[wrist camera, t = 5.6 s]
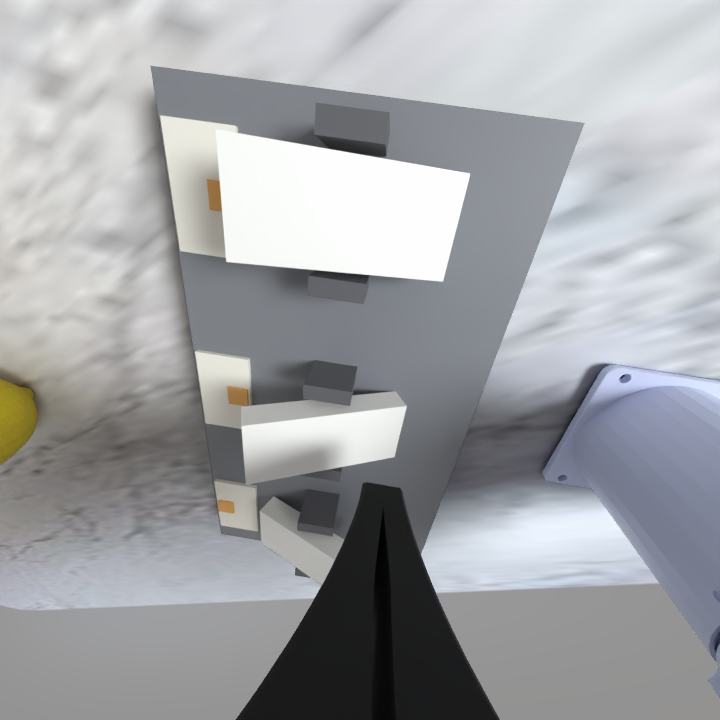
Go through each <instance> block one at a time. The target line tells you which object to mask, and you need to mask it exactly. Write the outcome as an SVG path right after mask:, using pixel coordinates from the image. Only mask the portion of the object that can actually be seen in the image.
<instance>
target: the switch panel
mask: <svg viewBox="0 0 720 720" xmlns="http://www.w3.org/2000/svg"><path fill="white" fill-rule="evenodd" d="M151 71H152V78H153V85H154V91H155V98H156V105H157V111H158V118H159V125H160V131H161V138H162V144H163V151H164V158H165V164H166V171H167V178H168V184H169V191H170V198H171V204H172V211H173V217H174V224H175V231H176V237H177V244H178V251H179V257H180V264H181V271H182V277H183V284H184V290H185V297H186V304H187V310H188V317H189V324H190V330H191V337H192V344H193V350H194V357H195V364H196V370H197V377H198V383H199V390H200V397H201V403H202V410H203V417H204V423H205V430H206V437H207V443H208V450H209V456H210V463H211V470H212V476H213V483H214V490H215V496H216V503H217V510H218V516H219V523H220V529H221V534H227V535H233V536H238V537H244V538H250V539H256V540H261V527H260V510H261V509H262V508H263V507H264V506H265V505H266V504H267V503H268V502H269V501H270V500H271V498H272V497H273V496H274V497H276V498H277V499H279V500H281V501H282V502H284V503H286V504H287V505H289V506H290V507H292V508H294V509H295V510H297V511H299V512H300V516H299V519H298V523H297V530H298V531H303V532H309V533H315V534H321V535H327V536H333V533H334V534H336V535H337V536H339V537H341V538H342V539H344V540H345V537H346V535H347V532H348V530H349V527H350V525H351V523H352V520H353V517H354V515H355V512H356V509H357V506H358V502H359V499H360V494H361V489H362V484H363V483H365V482H369V483H375V484H381V485H386V486H392V487H398V488H400V489H401V490H402V492H403V497H404V501H405V506H406V510H407V513H408V517H409V520H410V524H411V527H412V530H413V533H414V537H415V540H416V542H417V545H418V548H419V551H420V554H421V552H422V550H423V547H424V545H425V542H426V539H427V537H428V534H429V531H430V529H431V526H432V523H433V521H434V518H435V516H436V513H437V510H438V508H439V505H440V502H441V500H442V497H443V494H444V492H445V489H446V487H447V484H448V481H449V479H450V476H451V473H452V471H453V468H454V465H455V463H456V460H457V458H458V455H459V452H460V450H461V447H462V444H463V442H464V439H465V437H466V434H467V431H468V429H469V426H470V423H471V421H472V418H473V415H474V413H475V410H476V408H477V405H478V402H479V400H480V397H481V394H482V392H483V389H484V386H485V384H486V381H487V379H488V376H489V373H490V371H491V368H492V365H493V363H494V360H495V357H496V355H497V352H498V350H499V347H500V344H501V342H502V339H503V336H504V334H505V331H506V328H507V326H508V323H509V321H510V318H511V315H512V313H513V310H514V307H515V305H516V302H517V300H518V297H519V294H520V292H521V289H522V286H523V284H524V281H525V278H526V276H527V273H528V271H529V268H530V265H531V263H532V260H533V257H534V255H535V252H536V249H537V247H538V244H539V242H540V239H541V236H542V234H543V231H544V228H545V226H546V223H547V220H548V218H549V215H550V213H551V210H552V207H553V205H554V202H555V199H556V197H557V194H558V191H559V189H560V186H561V184H562V181H563V178H564V176H565V173H566V170H567V168H568V165H569V162H570V160H571V157H572V155H573V152H574V149H575V147H576V144H577V141H578V139H579V136H580V134H581V131H582V128H583V126H584V123H580V122H572V121H564V120H557V119H549V118H542V117H534V116H527V115H519V114H511V113H504V112H496V111H489V110H481V109H474V108H466V107H458V106H451V105H443V104H436V103H428V102H421V101H413V100H405V99H398V98H390V97H383V96H375V95H368V94H360V93H352V92H345V91H337V90H330V89H322V88H315V87H307V86H299V85H292V84H284V83H277V82H269V81H262V80H254V79H247V78H239V77H231V76H224V75H216V74H209V73H201V72H194V71H186V70H178V69H171V68H163V67H156V66H151ZM216 129H218V130H223V131H229V132H235V133H241V134H246V135H252V136H258V137H263V138H269V139H275V140H280V141H286V142H292V143H298V144H303V145H309V146H315V147H320V148H326V149H332V150H338V151H343V152H349V153H355V154H360V155H366V156H372V157H378V158H383V159H389V160H395V161H400V162H406V163H412V164H418V165H423V166H429V167H435V168H440V169H446V170H452V171H458V172H463V173H469V174H470V177H469V181H468V185H467V189H466V193H465V197H464V201H463V205H462V209H461V213H460V216H459V220H458V224H457V228H456V232H455V236H454V240H453V244H452V248H451V252H450V256H449V260H448V264H447V268H446V272H445V276H444V280H443V282H440V281H430V280H419V279H408V278H397V277H386V276H375V275H364V274H353V273H342V272H331V271H320V270H309V269H298V268H287V267H276V266H265V265H254V264H243V263H232V262H226V252H225V240H224V227H223V215H222V203H221V190H220V178H219V166H218V153H217V141H216ZM392 391H395V392H397V394H398V395H399V396H400V398H401V399H402V400H403V402H404V403H405V404H406V405H407V408H406V412H405V416H404V420H403V424H402V428H401V432H400V436H399V440H398V444H397V449H396V453H395V457H393V458H387V459H382V460H377V461H371V462H366V463H361V464H355V465H350V466H345V467H339V468H334V469H329V470H323V471H318V472H313V473H307V474H302V475H297V476H291V477H286V478H281V479H275V480H270V481H265V482H259V483H254V484H249V485H246V480H245V467H244V454H243V441H242V429H241V407H243V406H253V405H263V404H273V403H283V402H293V401H303V400H315V401H321V402H327V403H334V404H340V405H346V406H350V404H351V399H352V395H362V394H372V393H382V392H392ZM295 575H297V576H303V577H308V578H311V577H309V576H308V575H306V574H305V573H303V572H302V571H301V570H299V569H298V568H296V569H295Z"/></svg>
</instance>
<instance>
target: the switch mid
mask: <svg viewBox="0 0 720 720" xmlns="http://www.w3.org/2000/svg"><path fill="white" fill-rule="evenodd" d="M406 408H407V405H406V404H405V403H404V402H403V400H402V399H401V398H400V396H399V395H398V394H397V392H395V391H392V392H382V393H372V394H362V395H352V399H351V404H350V406H346V405H340V404H334V403H327V402H321V401H315V400H303V401H293V402H283V403H273V404H263V405H253V406H243V407H241V429H242V441H243V454H244V467H245V480H246V485H249V484H254V483H259V482H265V481H270V480H275V479H281V478H286V477H291V476H297V475H302V474H307V473H313V472H318V471H323V470H329V469H334V468H339V467H345V466H350V465H355V464H361V463H366V462H371V461H377V460H382V459H387V458H393V457H395V453H396V449H397V444H398V440H399V436H400V432H401V428H402V424H403V420H404V416H405V412H406Z"/></svg>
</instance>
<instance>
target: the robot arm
mask: <svg viewBox="0 0 720 720" xmlns="http://www.w3.org/2000/svg"><path fill="white" fill-rule="evenodd" d="M624 374H625V376H624V377H623V378H621V379H619V378H620V377H621V376H622V375H624ZM542 474H543V476H544V478H545V479H546V480H547V481H549V482H554V483H560V484H566V485H572V486H578V487H585V488H591V489H593V491H594V492H595V493H596V495H597V496H598V498H599V499H600V500H601V502H602V503H603V505H604V506H605V507H606V509H607V510H608V512H609V513H610V514H611V516H612V517H613V519H614V520H615V521H616V523H617V524H618V526H619V527H620V528H621V530H622V531H623V533H624V534H625V535H626V537H627V538H628V540H629V541H630V542H631V544H632V545H633V547H634V548H635V549H636V551H637V552H638V554H639V555H640V557H641V558H642V559H643V561H644V562H645V564H646V565H647V566H648V568H649V569H650V571H651V572H652V573H653V575H654V576H655V578H656V579H657V580H658V582H659V583H660V585H661V586H662V587H663V589H664V590H665V592H666V593H667V594H668V596H669V597H670V599H671V600H672V601H673V603H674V604H675V606H676V607H677V608H678V610H679V611H680V612H681V614H682V615H683V617H684V618H685V620H686V621H687V622H688V624H689V625H690V626H691V628H692V629H693V631H694V632H695V634H696V635H697V636H698V638H699V639H700V641H701V642H702V644H703V645H704V646H705V648H706V649H707V651H708V652H709V653H710V655H711V656H712V657H713V658H714V659H715V661H716V662H717V665H718V669H717V670H716V672H715V673H714V674H712V675H711V676H710V677H708V681H709V683H710V684H711V686H712V687H713V689H714V690H715V692H716V693H717V695H718V696H719V698H720V381H718V380H711V379H705V378H698V377H692V376H685V375H679V374H672V373H665V372H659V371H652V370H646V369H639V368H633V367H626V366H619V365H609V366H607V367H605V368H603V369H602V370H601V372H600V373H599V375H598V377H597V378H596V380H595V382H594V384H593V385H592V387H591V389H590V390H589V392H588V394H587V396H586V397H585V399H584V401H583V403H582V404H581V406H580V408H579V409H578V411H577V413H576V415H575V416H574V418H573V420H572V422H571V423H570V425H569V427H568V428H567V430H566V432H565V434H564V435H563V437H562V439H561V441H560V442H559V444H558V446H557V447H556V449H555V451H554V453H553V454H552V456H551V458H550V460H549V461H548V463H547V465H546V466H545V468H544V470H543V472H542ZM236 720H500V719H499V717H498V715H497V714H496V712H495V710H494V708H493V707H492V705H491V703H490V701H489V699H488V697H487V696H486V694H485V692H484V690H483V688H482V686H481V684H480V683H479V681H478V679H477V677H476V675H475V673H474V671H473V670H472V668H471V666H470V664H469V662H468V660H467V659H466V656H465V654H464V652H463V650H462V649H461V647H460V644H459V642H458V640H457V639H456V636H455V634H454V632H453V630H452V628H451V626H450V624H449V622H448V619H447V617H446V615H445V613H444V611H443V608H442V606H441V604H440V602H439V599H438V597H437V595H436V592H435V590H434V588H433V585H432V583H431V580H430V578H429V575H428V573H427V570H426V567H425V565H424V562H423V560H422V557H421V554H420V551H419V548H418V545H417V542H416V540H415V537H414V533H413V530H412V527H411V524H410V520H409V517H408V513H407V510H406V506H405V501H404V497H403V492H402V490H401V489H400V488H398V487H392V486H386V485H381V484H375V483H369V482H365V483H363V484H362V489H361V494H360V499H359V502H358V506H357V509H356V512H355V515H354V517H353V520H352V523H351V525H350V527H349V530H348V532H347V535H346V537H345V540H344V542H343V544H342V546H341V548H340V550H339V553H338V555H337V557H336V559H335V561H334V563H333V565H332V567H331V569H330V571H329V573H328V575H327V577H326V579H325V581H324V582H323V584H322V586H321V588H320V590H319V592H318V593H317V595H316V597H315V599H314V601H313V602H312V604H311V606H310V608H309V609H308V611H307V613H306V614H305V616H304V618H303V620H302V621H301V623H300V625H299V626H298V628H297V629H296V631H295V633H294V634H293V636H292V637H291V639H290V641H289V642H288V644H287V645H286V647H285V648H284V650H283V651H282V653H281V655H280V656H279V658H278V659H277V661H276V662H275V664H274V665H273V667H272V668H271V670H270V671H269V673H268V674H267V676H266V677H265V679H264V680H263V682H262V684H261V685H260V686H259V688H258V689H257V691H256V692H255V693H254V695H253V696H252V698H251V699H250V701H249V702H248V703H247V705H246V706H245V708H244V709H243V710H242V712H241V713H240V715H239V716H238V717H237V719H236Z"/></svg>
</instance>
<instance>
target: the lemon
mask: <svg viewBox="0 0 720 720" xmlns="http://www.w3.org/2000/svg"><path fill="white" fill-rule="evenodd" d="M33 396H34V393H33V391H32V390H31V389H29V388H26V387H19V386H16V385H15V384H13V383H10V382H8V381H5V380H2V379H0V465H1V464H2V463H4V462H5V461H7V460H8V459H9V458H10V457H12V456H13V455H14V454H15V453H16V452H17V451H18V450H19V449H20V448H21V447H22V446H23V445H24V444H25V443H26V442H27V441H28V440H29V438H30V437H31V436H32V434H33V432H34V430H35V427H36V423H37V419H38V414H37V408H36V405H35V403H34V401H33Z"/></svg>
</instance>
